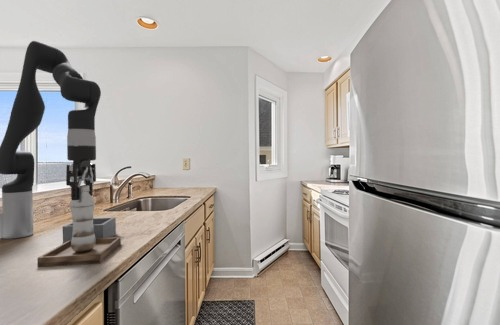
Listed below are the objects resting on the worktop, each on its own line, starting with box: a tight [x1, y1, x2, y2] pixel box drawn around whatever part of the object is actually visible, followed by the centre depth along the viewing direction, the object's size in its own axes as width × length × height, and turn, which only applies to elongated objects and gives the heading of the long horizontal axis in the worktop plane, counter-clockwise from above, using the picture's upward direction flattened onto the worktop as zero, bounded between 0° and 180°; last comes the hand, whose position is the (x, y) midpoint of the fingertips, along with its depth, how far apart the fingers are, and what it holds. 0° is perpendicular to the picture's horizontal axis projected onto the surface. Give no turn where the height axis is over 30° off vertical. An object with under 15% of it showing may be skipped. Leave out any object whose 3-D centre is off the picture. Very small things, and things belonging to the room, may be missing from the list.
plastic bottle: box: [69, 184, 96, 252], centre depth 87 cm, size 6×7×20 cm
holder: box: [62, 217, 117, 244], centre depth 104 cm, size 13×13×6 cm
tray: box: [37, 236, 122, 268], centre depth 87 cm, size 16×18×2 cm
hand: (82, 198), depth 87 cm, fingers open, 8 cm apart
